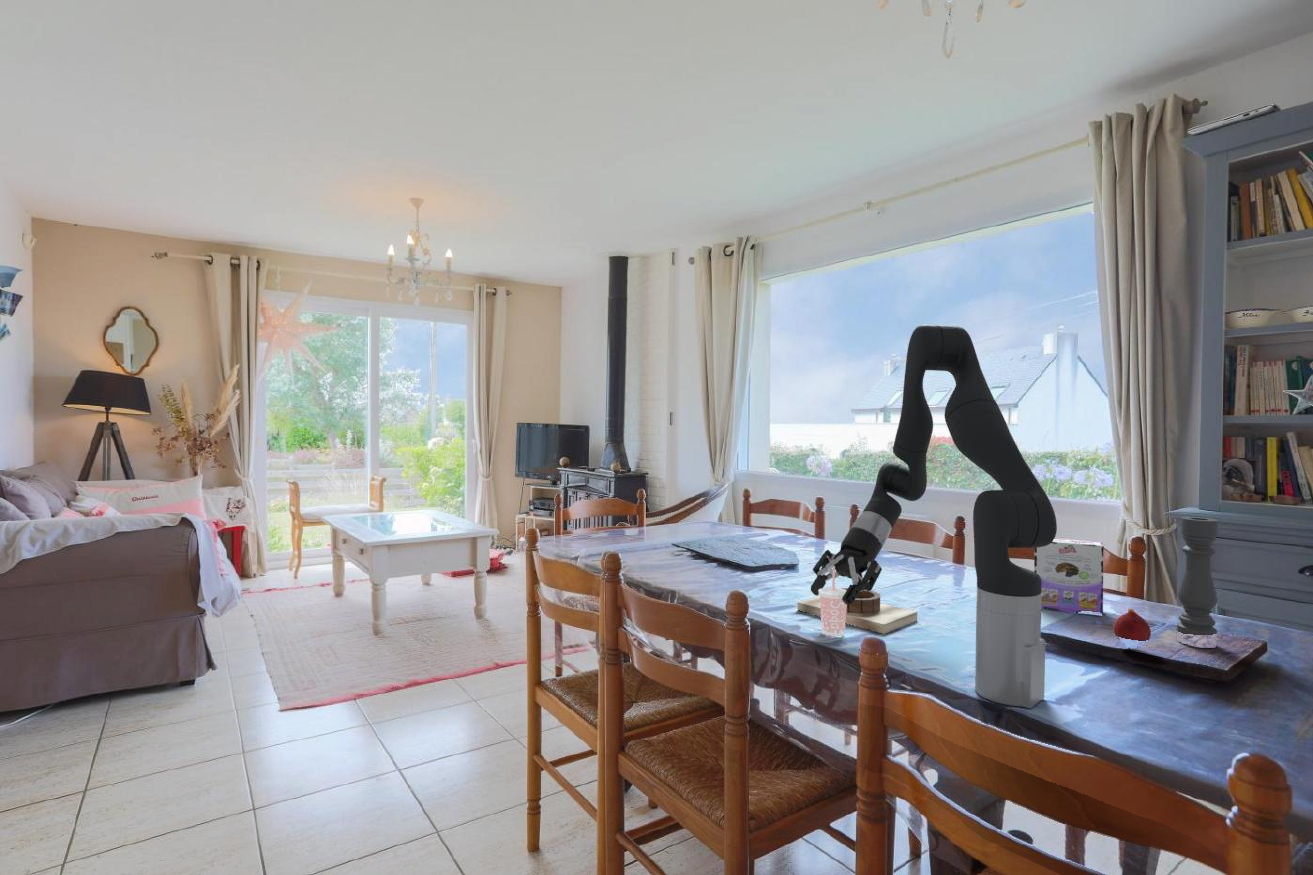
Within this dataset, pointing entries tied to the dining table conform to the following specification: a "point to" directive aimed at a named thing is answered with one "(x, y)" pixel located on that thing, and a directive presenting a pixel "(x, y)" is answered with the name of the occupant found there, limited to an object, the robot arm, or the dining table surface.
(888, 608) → the cup stand
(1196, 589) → the candle holder
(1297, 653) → the dining table surface
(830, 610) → the beverage cup
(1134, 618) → the onion
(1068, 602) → the candy box
